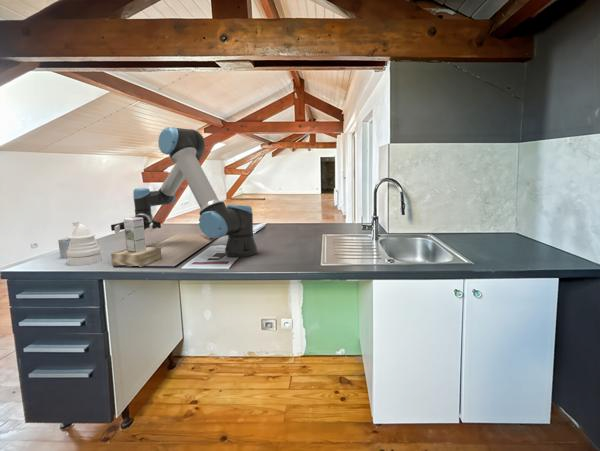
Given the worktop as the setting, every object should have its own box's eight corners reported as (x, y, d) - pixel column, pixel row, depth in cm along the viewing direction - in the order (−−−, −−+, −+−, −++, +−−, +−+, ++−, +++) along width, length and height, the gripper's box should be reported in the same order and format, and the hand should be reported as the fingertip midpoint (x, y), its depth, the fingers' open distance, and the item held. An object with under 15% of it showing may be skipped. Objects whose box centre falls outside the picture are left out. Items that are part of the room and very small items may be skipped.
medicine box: (68, 258, 164) (66, 239, 163) (60, 258, 165) (57, 239, 164) (81, 254, 172) (79, 236, 170) (73, 253, 173) (71, 236, 171)
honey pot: (66, 267, 150) (61, 224, 147) (69, 260, 161) (64, 220, 158) (101, 262, 155) (96, 222, 152) (102, 256, 167) (97, 218, 164)
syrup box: (146, 249, 157) (143, 217, 154) (135, 252, 152) (132, 218, 149) (137, 248, 159) (134, 216, 157) (126, 251, 154) (122, 218, 152)
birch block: (161, 258, 161) (160, 247, 160) (140, 267, 148) (139, 255, 147) (135, 257, 164) (134, 246, 164) (112, 265, 151) (111, 253, 150)
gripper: (169, 228, 175) (165, 236, 155) (113, 231, 168) (101, 240, 148) (167, 213, 173) (164, 218, 153) (111, 215, 167) (99, 222, 147)
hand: (133, 229), depth 151 cm, fingers open, 13 cm apart
